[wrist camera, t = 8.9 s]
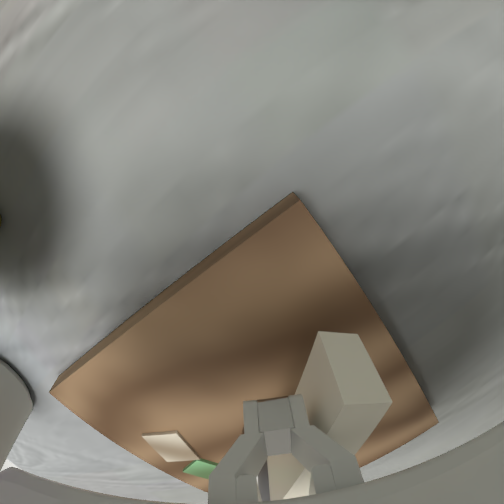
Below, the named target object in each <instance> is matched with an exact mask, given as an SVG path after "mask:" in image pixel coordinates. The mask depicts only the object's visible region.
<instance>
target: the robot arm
mask: <svg viewBox="0 0 504 504" xmlns="http://www.w3.org/2000/svg"><path fill="white" fill-rule="evenodd" d="M243 417H244V434H241V435H240V436H239V437H238V439H237V440H236V441H235V443H234V444H233V445H232V447H231V448H230V449H229V451H228V452H227V453H226V455H225V456H224V457H223V458H222V460H221V461H220V462H219V464H218V465H217V466H216V467H215V469H214V470H213V471H212V472H211V474H210V475H209V487H208V504H504V421H503V422H502V423H500V424H498V425H497V426H495V427H493V428H492V429H490V430H488V431H487V432H485V433H483V434H481V435H480V436H478V437H476V438H474V439H472V440H470V441H468V442H466V443H465V444H463V445H461V446H459V447H457V448H455V449H452V450H450V451H448V452H446V453H444V454H442V455H440V456H437V457H435V458H433V459H430V460H428V461H426V462H423V463H421V464H418V465H416V466H413V467H411V468H408V469H405V470H402V471H400V472H397V473H394V474H391V475H388V476H385V477H382V478H379V479H375V480H372V481H369V482H365V483H364V480H363V477H362V474H361V471H360V468H359V465H358V462H357V459H356V456H355V455H353V454H352V453H350V452H349V451H348V450H346V449H345V448H344V447H342V446H341V445H339V444H338V443H337V442H335V441H334V440H333V439H331V438H330V437H329V436H327V435H326V434H325V433H323V432H322V431H321V430H320V429H318V428H317V427H316V426H314V425H310V424H309V420H308V416H307V412H306V408H305V404H304V400H303V396H302V394H296V395H290V396H282V397H275V398H268V399H259V400H249V401H243ZM289 453H292V455H293V456H294V457H295V458H296V459H297V460H298V461H299V462H300V463H301V464H302V465H303V466H304V467H305V468H306V469H307V470H308V471H309V472H310V473H311V477H310V487H309V495H308V496H302V497H296V498H289V499H282V500H274V501H264V502H262V498H261V494H260V491H259V487H258V483H257V479H256V477H257V476H258V474H259V472H260V471H261V469H262V467H263V465H264V464H265V462H266V460H267V458H268V456H274V455H281V454H289ZM0 504H185V503H168V502H157V501H147V500H139V499H132V498H125V497H119V496H113V495H108V494H103V493H98V492H93V491H89V490H84V489H80V488H76V487H72V486H69V485H65V484H62V483H58V482H55V481H52V480H48V479H45V478H42V477H39V476H36V475H34V474H31V473H28V472H26V471H23V470H20V469H18V468H14V467H10V468H7V469H5V470H3V471H1V472H0Z"/></svg>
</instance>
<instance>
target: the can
mask: <svg viewBox="0 0 504 504" xmlns="http://www.w3.org/2000/svg"><path fill="white" fill-rule="evenodd" d="M32 410H33V402H32V400H31V397H30V393H29V390H28V388H27V386H26V385H25V383H24V382H23V380H22V379H21V378H20V376H19V375H18V374H17V373H16V372H15V371H14V370H13V369H12V368H11V367H10V366H9V365H8V364H6V363H5V362H3V361H2V360H0V470H1V468H2V466H3V464H4V462H5V460H6V458H7V456H8V454H9V452H10V450H11V448H12V446H13V444H14V443H15V441H16V439H17V437H18V435H19V433H20V431H21V430H22V428H23V426H24V424H25V422H26V420H27V419H28V417H29V415H30V413H31V412H32Z"/></svg>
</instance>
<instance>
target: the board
mask: <svg viewBox="0 0 504 504" xmlns="http://www.w3.org/2000/svg"><path fill="white" fill-rule="evenodd" d="M318 331H324V332H337V333H350V334H358V335H359V337H360V339H361V341H362V343H363V345H364V347H365V349H366V350H367V352H368V354H369V356H370V358H371V360H372V362H373V364H374V366H375V368H376V370H377V372H378V374H379V376H380V378H381V380H382V382H383V384H384V386H385V388H386V390H387V392H388V394H389V396H390V398H391V400H392V404H391V405H390V407H389V409H388V410H387V412H386V413H385V415H384V416H383V417H382V419H381V420H380V422H379V423H378V425H377V426H376V427H375V429H374V430H373V432H372V433H371V434H370V436H369V437H368V438H367V440H366V441H365V442H364V444H363V445H362V446H361V448H360V449H359V450H358V452H357V453H356V454H355V456H356V459H357V462H358V465H359V468H360V467H362V466H364V465H367V464H369V463H371V462H373V461H375V460H377V459H378V458H380V457H382V456H384V455H386V454H388V453H390V452H392V451H393V450H395V449H397V448H399V447H400V446H402V445H404V444H406V443H407V442H409V441H411V440H412V439H414V438H416V437H417V436H419V435H420V434H422V433H424V432H425V431H427V430H428V429H430V428H431V427H433V426H434V425H436V424H437V423H439V422H438V420H437V418H436V416H435V414H434V412H433V410H432V408H431V406H430V404H429V402H428V401H427V399H426V397H425V395H424V393H423V391H422V389H421V388H420V386H419V384H418V382H417V380H416V379H415V377H414V375H413V373H412V371H411V370H410V368H409V366H408V364H407V363H406V361H405V359H404V357H403V356H402V354H401V352H400V350H399V349H398V347H397V345H396V344H395V342H394V340H393V339H392V337H391V335H390V334H389V332H388V330H387V329H386V327H385V325H384V324H383V322H382V320H381V319H380V317H379V316H378V314H377V312H376V311H375V309H374V308H373V306H372V304H371V303H370V301H369V300H368V298H367V297H366V295H365V293H364V292H363V290H362V289H361V287H360V286H359V284H358V283H357V281H356V280H355V278H354V276H353V275H352V273H351V272H350V270H349V269H348V267H347V266H346V264H345V263H344V261H343V260H342V258H341V257H340V256H339V254H338V253H337V251H336V250H335V248H334V247H333V245H332V244H331V242H330V241H329V239H328V238H327V237H326V235H325V234H324V232H323V231H322V229H321V228H320V227H319V225H318V224H317V222H316V221H315V220H314V218H313V217H312V215H311V214H310V213H309V211H308V210H307V208H306V207H305V206H304V204H303V203H302V202H301V200H300V199H299V198H298V197H297V196H296V195H295V194H294V193H293V192H292V193H291V194H289V195H288V196H287V197H285V198H284V199H283V200H281V201H280V202H279V203H277V204H276V205H275V206H273V207H272V208H271V209H269V210H268V211H267V212H265V213H264V214H263V215H261V216H260V217H259V218H257V219H256V220H255V221H253V222H252V223H251V224H249V225H248V226H247V227H245V228H244V229H243V230H241V231H240V232H239V233H237V234H236V235H235V236H234V237H232V238H231V239H230V240H228V241H227V242H226V243H224V244H223V245H222V246H220V247H219V248H218V249H217V250H215V251H214V252H213V253H211V254H210V255H209V256H207V257H206V258H205V259H204V260H202V261H201V262H200V263H198V264H197V265H196V266H195V267H193V268H192V269H191V270H189V271H188V272H187V273H186V274H184V275H183V276H182V277H180V278H179V279H178V280H177V281H175V282H174V283H173V284H172V285H170V286H169V287H168V288H166V289H165V290H164V291H163V292H161V293H160V294H159V295H158V296H156V297H155V298H154V299H153V300H151V301H150V302H149V303H148V304H146V305H145V306H144V307H143V308H141V309H140V310H139V311H138V312H136V313H135V314H134V315H133V316H131V317H130V318H129V319H128V320H126V321H125V322H124V323H123V324H121V325H120V326H119V327H118V328H116V329H115V330H114V331H113V332H111V333H110V334H109V335H108V336H107V337H105V338H104V339H103V340H102V341H100V342H99V343H98V344H97V345H96V346H94V347H93V348H92V349H91V350H89V351H88V352H87V353H86V354H85V355H83V356H82V357H81V358H80V359H79V360H77V361H76V362H75V363H74V364H73V365H71V366H70V367H69V368H68V369H67V370H65V371H64V372H63V373H62V374H61V375H59V377H58V378H57V380H56V381H55V383H54V385H53V386H52V388H51V390H50V391H49V393H50V394H51V395H53V396H54V397H55V398H56V399H57V400H58V401H60V402H61V403H62V404H63V405H64V406H66V407H67V408H68V409H69V410H71V411H72V412H73V413H74V414H76V415H77V416H78V417H80V418H81V419H82V420H83V421H85V422H86V423H87V424H89V425H90V426H92V427H93V428H94V429H96V430H97V431H99V432H100V433H101V434H103V435H104V436H106V437H107V438H109V439H110V440H112V441H113V442H115V443H116V444H118V445H119V446H121V447H122V448H124V449H126V450H127V451H129V452H130V453H132V454H134V455H135V456H137V457H139V458H140V459H142V460H144V461H145V462H147V463H149V464H151V465H153V466H154V467H156V468H158V469H160V470H162V471H164V472H165V473H167V474H169V475H171V476H173V477H175V478H177V479H179V480H181V481H183V482H185V483H188V484H190V485H192V486H194V487H196V488H198V489H201V490H203V491H205V492H208V487H209V475H210V474H211V472H212V471H213V470H214V469H215V467H216V466H217V465H218V464H219V462H220V461H221V460H222V458H223V457H224V456H225V455H226V453H227V452H228V451H229V449H230V448H231V447H232V445H233V444H234V443H235V441H236V440H237V439H238V437H239V436H240V435H241V434H244V417H243V401H249V400H259V399H268V398H275V397H282V396H290V395H295V392H296V390H297V387H298V385H299V382H300V380H301V377H302V374H303V372H304V369H305V366H306V364H307V361H308V358H309V356H310V353H311V350H312V347H313V345H314V342H315V339H316V336H317V333H318Z"/></svg>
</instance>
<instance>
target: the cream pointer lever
mask: <svg viewBox="0 0 504 504" xmlns="http://www.w3.org/2000/svg"><path fill="white" fill-rule="evenodd" d="M296 394H302V396H303V400H304V404H305V408H306V412H307V416H308V420H309V424H310V425H314V426H316V427H317V428H318V429H320V430H321V431H322V432H323V433H325V434H326V435H327V436H329V437H330V438H331V439H333V440H334V441H335V442H337V443H338V444H339V445H341V446H342V447H344V448H345V449H346V450H348V451H349V452H350V453H352V454H353V455H355V454H356V453H357V452H358V450H359V449H360V448H361V446H362V445H363V444H364V442H365V441H366V440H367V438H368V437H369V436H370V434H371V433H372V432H373V430H374V429H375V427H376V426H377V425H378V423H379V422H380V420H381V419H382V417H383V416H384V415H385V413H386V412H387V410H388V409H389V407H390V405H391V404H392V400H391V398H390V396H389V394H388V392H387V390H386V388H385V386H384V384H383V382H382V380H381V378H380V376H379V374H378V372H377V370H376V368H375V366H374V364H373V362H372V360H371V358H370V356H369V354H368V352H367V350H366V349H365V347H364V345H363V343H362V341H361V339H360V337H359V335H358V334H350V333H337V332H324V331H318V333H317V336H316V339H315V342H314V345H313V347H312V350H311V353H310V356H309V358H308V361H307V364H306V366H305V369H304V372H303V374H302V377H301V380H300V382H299V385H298V387H297V390H296V392H295V395H296ZM310 477H311V473H310V472H309V471H308V470H307V469H306V468H305V467H304V466H303V465H302V464H301V463H300V462H299V461H298V460H297V459H296V458H295V457H294V456H293V455H292V453H289V454H281V455H274V456H268V458H267V460H266V462H265V464H264V465H263V467H262V469H261V471H260V472H259V474H258V476H257V477H256V479H257V483H258V487H259V491H260V494H261V498H262V502H264V501H274V500H282V499H289V498H296V497H302V496H308V495H309V487H310Z"/></svg>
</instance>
